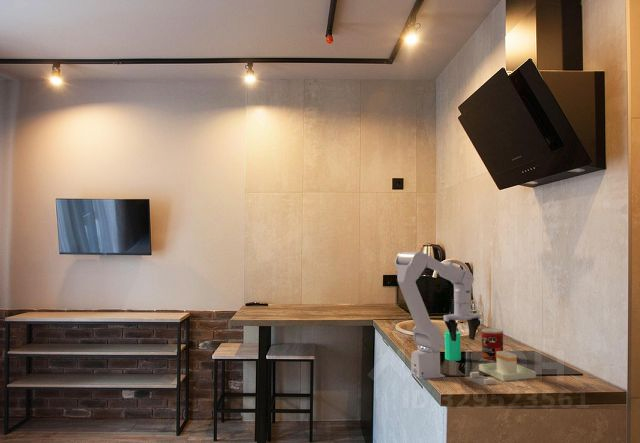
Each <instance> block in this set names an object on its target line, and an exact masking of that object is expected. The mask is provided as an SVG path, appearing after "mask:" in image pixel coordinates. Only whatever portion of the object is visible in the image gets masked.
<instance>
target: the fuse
mask: <svg viewBox="0 0 640 443" xmlns="http://www.w3.org/2000/svg"><path fill="white" fill-rule="evenodd" d="M517 356H518V355H517V354H515V353H513V352H509V351H506V350H503V351H496V360H495V361H496V363H497V372H499V373H501V374H513V373H517V365H518V358H517Z"/></svg>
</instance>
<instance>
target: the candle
mask: <svg viewBox="0 0 640 443" xmlns="http://www.w3.org/2000/svg"><path fill="white" fill-rule="evenodd" d="M461 336H462V335H461V332H459V331H457V330H456V341H452V340H451V336H450V333H449V330H445V331H444V338H445V344H444V359H445V360H447V361H452V362H457V361H461V360H462V347H461V344H462V342H461V339H462V338H461Z"/></svg>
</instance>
